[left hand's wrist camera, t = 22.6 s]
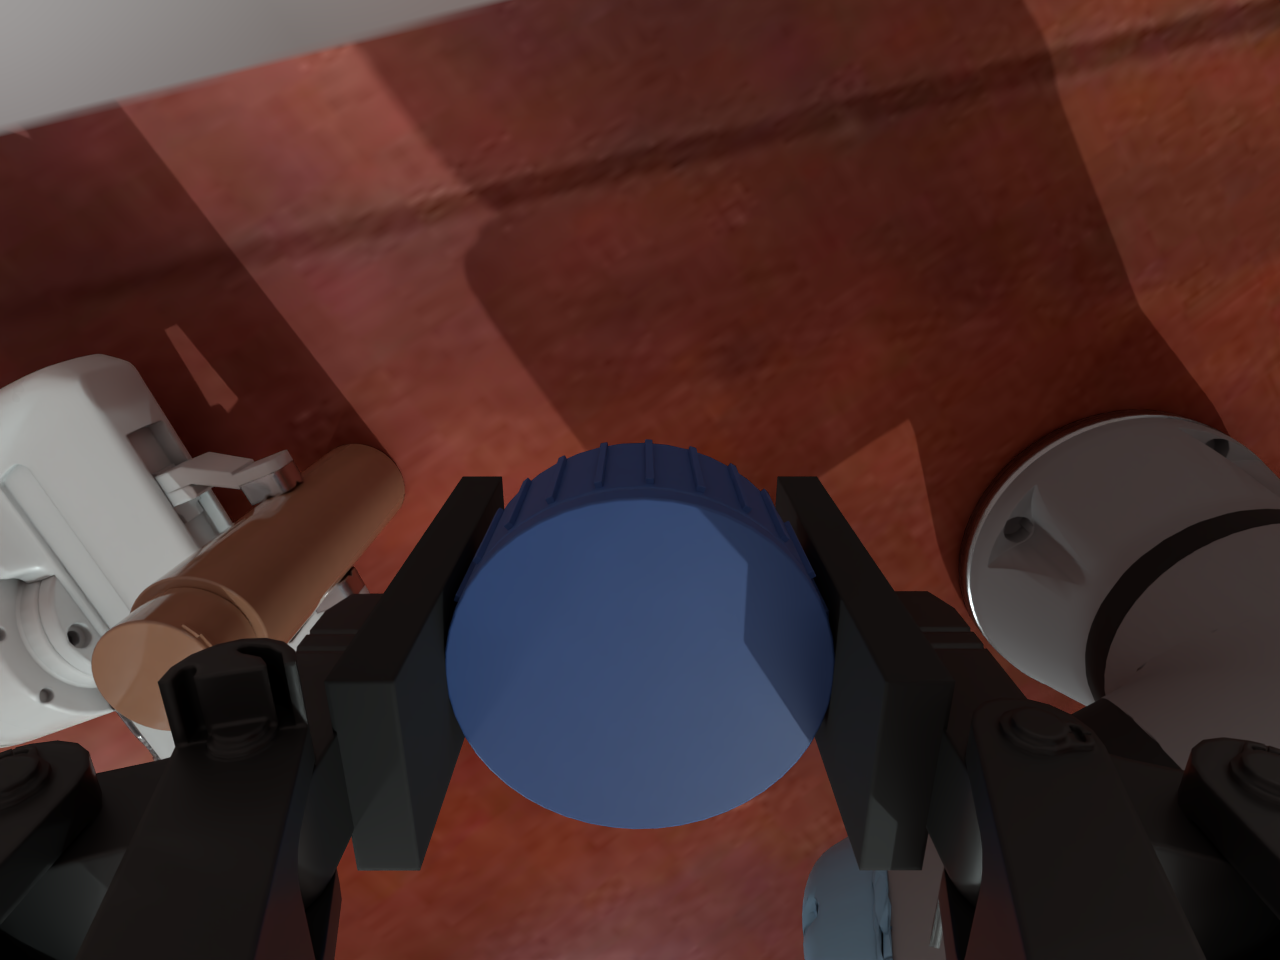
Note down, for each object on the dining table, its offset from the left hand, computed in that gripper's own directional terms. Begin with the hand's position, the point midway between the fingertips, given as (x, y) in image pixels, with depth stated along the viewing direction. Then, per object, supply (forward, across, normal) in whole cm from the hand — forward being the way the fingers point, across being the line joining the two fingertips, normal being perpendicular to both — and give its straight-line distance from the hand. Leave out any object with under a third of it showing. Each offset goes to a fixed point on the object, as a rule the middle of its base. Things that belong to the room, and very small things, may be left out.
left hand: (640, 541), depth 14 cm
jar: (+22, +14, +7) cm, 27 cm away
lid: (-4, 0, 0) cm, 4 cm away
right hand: (+16, +14, +7) cm, 22 cm away
